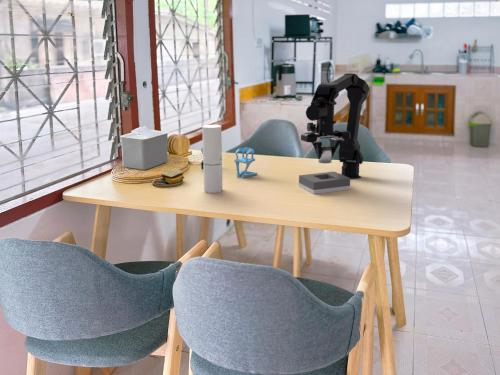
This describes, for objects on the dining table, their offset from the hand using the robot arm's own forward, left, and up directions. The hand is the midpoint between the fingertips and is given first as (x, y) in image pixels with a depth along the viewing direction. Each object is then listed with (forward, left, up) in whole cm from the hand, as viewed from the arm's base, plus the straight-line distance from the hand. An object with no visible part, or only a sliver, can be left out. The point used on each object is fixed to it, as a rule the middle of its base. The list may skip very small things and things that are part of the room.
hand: (325, 158), depth 211 cm
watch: (+31, -51, -12) cm, 61 cm away
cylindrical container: (+41, -14, -12) cm, 45 cm away
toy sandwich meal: (+54, -32, -12) cm, 64 cm away
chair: (+21, -31, -12) cm, 39 cm away
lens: (0, 0, -2) cm, 2 cm away
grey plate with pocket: (0, 0, -12) cm, 12 cm away
